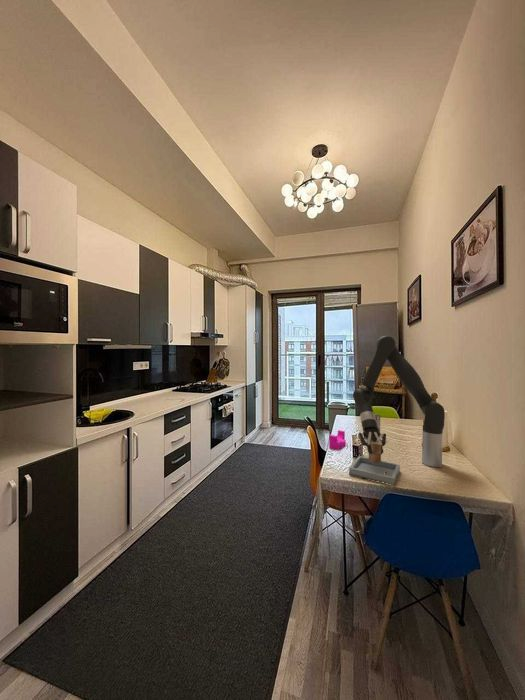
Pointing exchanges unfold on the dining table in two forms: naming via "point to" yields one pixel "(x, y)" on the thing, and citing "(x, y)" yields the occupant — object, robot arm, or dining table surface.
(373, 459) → the walnut block
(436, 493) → the dining table surface
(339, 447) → the toy block
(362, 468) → the tray
